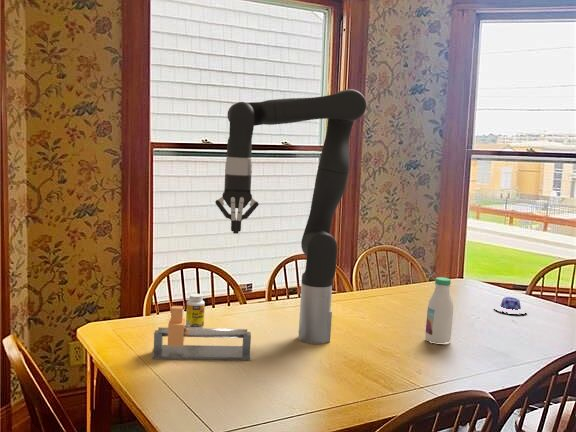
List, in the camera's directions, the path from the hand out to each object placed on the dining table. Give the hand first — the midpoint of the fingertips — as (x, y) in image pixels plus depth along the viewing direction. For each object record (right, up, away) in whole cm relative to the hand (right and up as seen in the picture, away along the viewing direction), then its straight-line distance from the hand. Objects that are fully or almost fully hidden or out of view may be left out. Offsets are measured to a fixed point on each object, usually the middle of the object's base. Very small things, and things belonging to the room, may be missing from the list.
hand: (235, 233), depth 178 cm
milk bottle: (+62, -34, +13) cm, 72 cm away
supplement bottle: (-14, -30, +15) cm, 36 cm away
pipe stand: (-8, -33, -9) cm, 35 cm away
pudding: (+99, -32, +54) cm, 117 cm away
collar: (-15, -30, -10) cm, 35 cm away
